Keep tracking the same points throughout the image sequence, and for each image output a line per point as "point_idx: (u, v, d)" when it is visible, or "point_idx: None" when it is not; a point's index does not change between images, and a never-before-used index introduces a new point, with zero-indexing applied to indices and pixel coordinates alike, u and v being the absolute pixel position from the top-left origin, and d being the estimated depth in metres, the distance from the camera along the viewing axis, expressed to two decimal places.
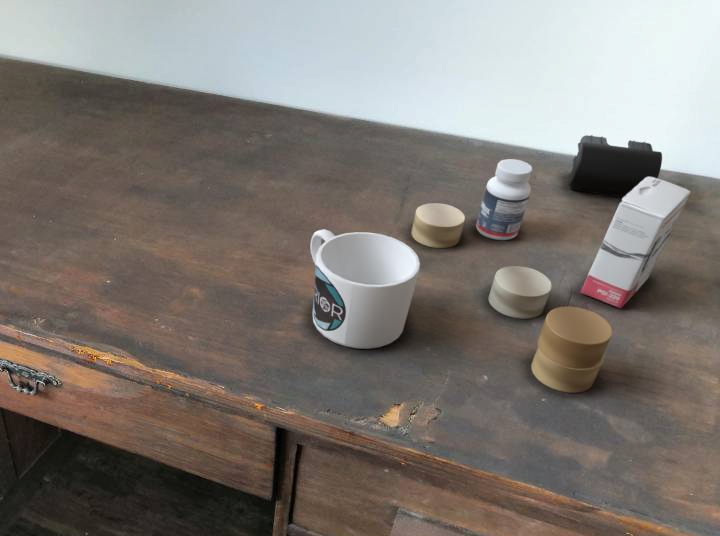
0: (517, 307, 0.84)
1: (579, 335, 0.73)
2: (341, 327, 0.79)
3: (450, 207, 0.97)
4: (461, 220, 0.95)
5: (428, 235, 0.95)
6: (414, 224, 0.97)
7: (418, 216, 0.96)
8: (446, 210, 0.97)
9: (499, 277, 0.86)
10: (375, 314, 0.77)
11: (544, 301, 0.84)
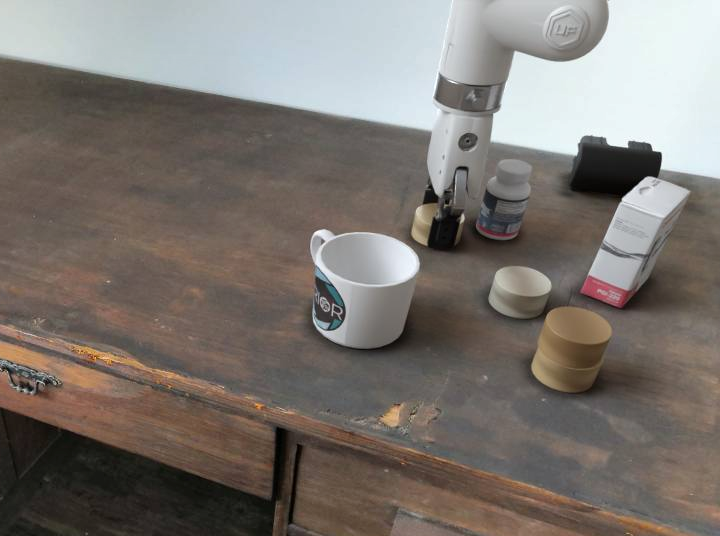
0: (517, 307, 0.84)
1: (579, 335, 0.73)
2: (341, 327, 0.79)
3: None
4: (461, 220, 0.95)
5: (428, 235, 0.95)
6: (414, 224, 0.97)
7: (418, 216, 0.96)
8: None
9: (499, 277, 0.86)
10: (375, 314, 0.77)
11: (544, 301, 0.84)
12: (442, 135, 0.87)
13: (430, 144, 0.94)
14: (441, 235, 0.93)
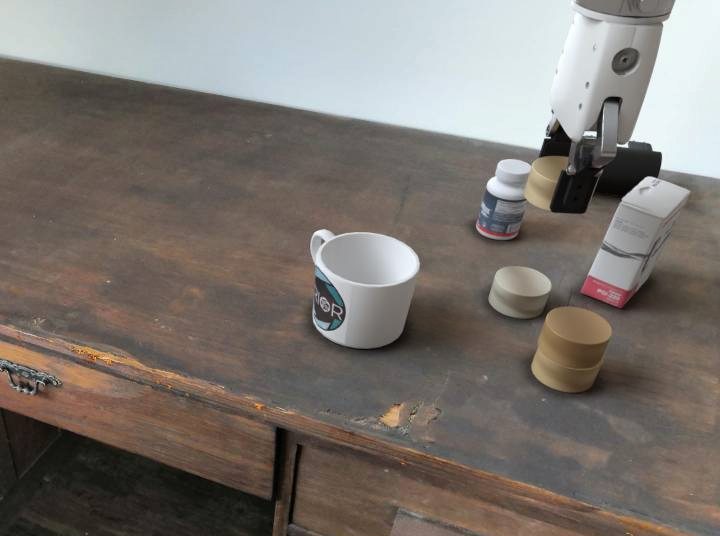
0: (517, 307, 0.84)
1: (579, 335, 0.73)
2: (341, 327, 0.79)
3: None
4: None
5: (550, 196, 0.72)
6: (530, 182, 0.74)
7: (537, 171, 0.72)
8: None
9: (499, 277, 0.86)
10: (375, 314, 0.77)
11: (544, 301, 0.84)
12: (585, 55, 0.64)
13: (557, 74, 0.70)
14: (571, 196, 0.70)
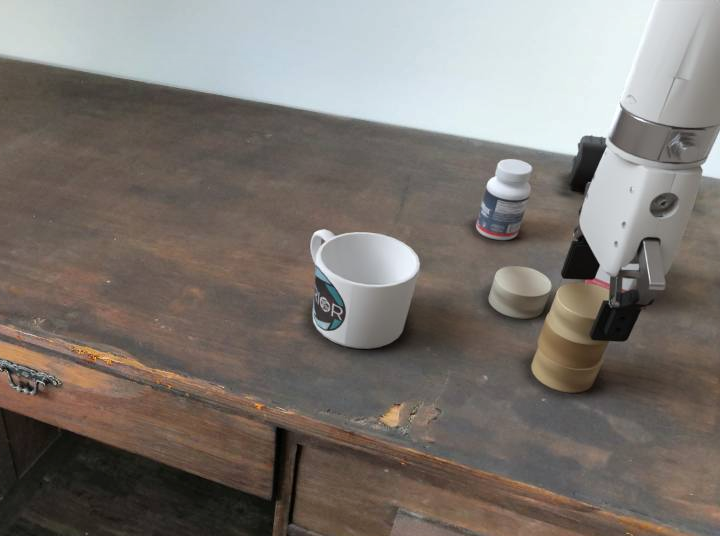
0: (517, 307, 0.84)
1: None
2: (341, 327, 0.79)
3: (601, 289, 0.74)
4: None
5: (575, 329, 0.71)
6: (554, 312, 0.73)
7: (562, 303, 0.72)
8: (597, 293, 0.73)
9: (499, 277, 0.86)
10: (375, 314, 0.77)
11: (544, 301, 0.84)
12: (621, 194, 0.63)
13: (588, 200, 0.69)
14: (614, 326, 0.67)
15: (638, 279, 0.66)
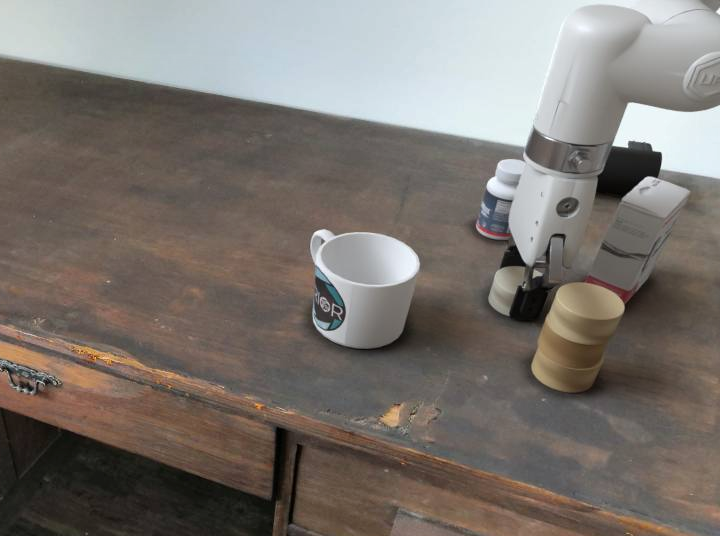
0: None
1: None
2: (341, 327, 0.79)
3: (601, 289, 0.74)
4: (621, 309, 0.71)
5: (575, 329, 0.71)
6: (554, 312, 0.73)
7: (562, 303, 0.72)
8: (597, 293, 0.73)
9: (499, 277, 0.86)
10: (375, 314, 0.77)
11: None
12: (535, 198, 0.76)
13: (514, 203, 0.83)
14: (527, 307, 0.82)
15: None
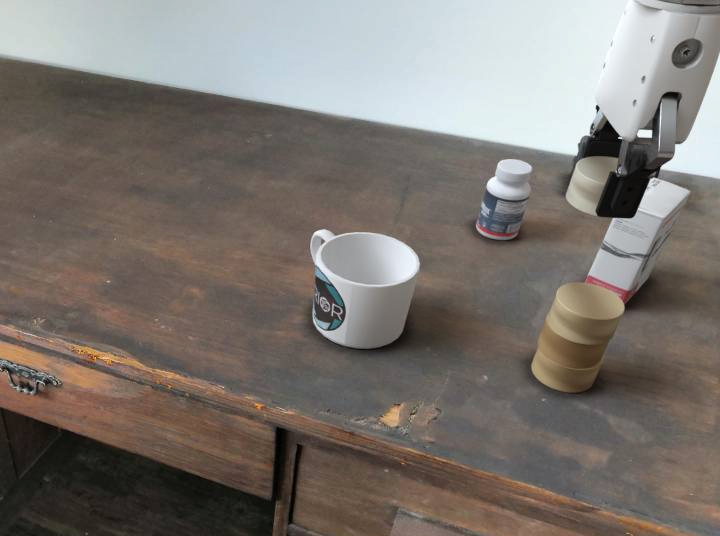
0: None
1: None
2: (341, 327, 0.79)
3: (601, 289, 0.74)
4: (621, 309, 0.71)
5: (575, 329, 0.71)
6: (554, 312, 0.73)
7: (562, 303, 0.72)
8: (597, 293, 0.73)
9: (581, 167, 0.68)
10: (375, 314, 0.77)
11: None
12: (641, 47, 0.59)
13: (605, 68, 0.66)
14: (620, 199, 0.65)
15: (650, 146, 0.63)
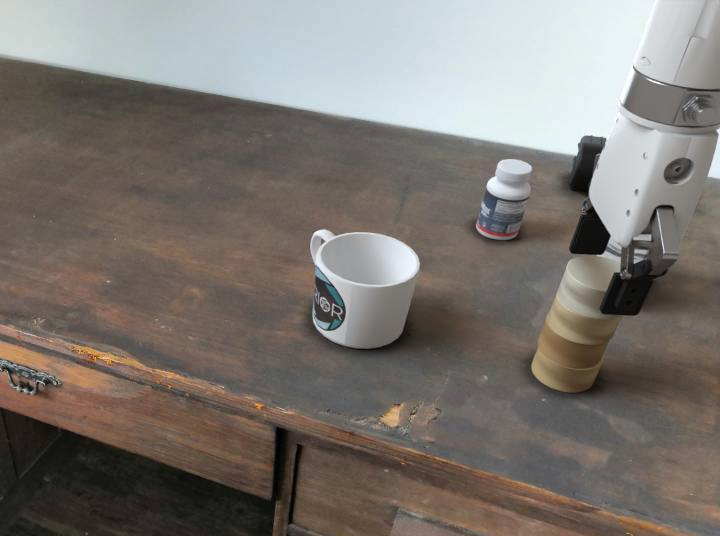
0: (596, 305, 0.69)
1: None
2: (341, 327, 0.79)
3: None
4: None
5: (575, 329, 0.71)
6: (554, 312, 0.73)
7: None
8: None
9: (572, 269, 0.71)
10: (375, 314, 0.77)
11: None
12: (634, 160, 0.61)
13: (599, 170, 0.67)
14: (625, 299, 0.65)
15: (650, 250, 0.64)
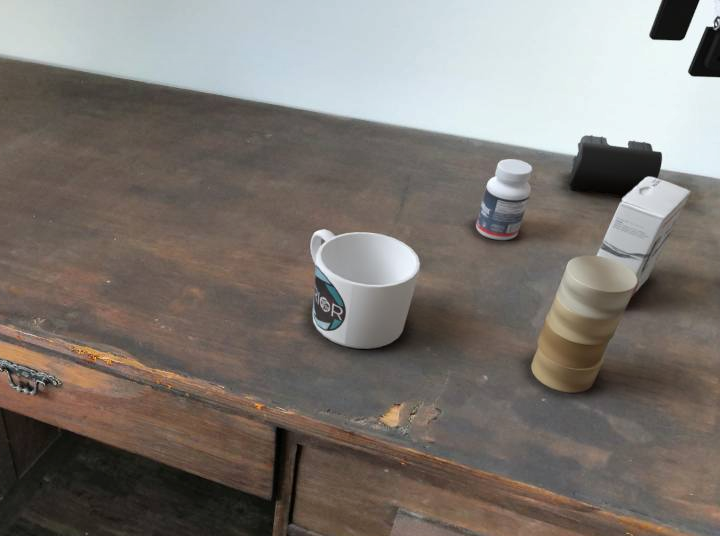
0: (596, 305, 0.69)
1: None
2: (341, 327, 0.79)
3: None
4: None
5: (575, 329, 0.71)
6: (554, 312, 0.73)
7: None
8: None
9: (572, 269, 0.71)
10: (375, 314, 0.77)
11: (628, 298, 0.69)
12: None
13: None
14: (716, 54, 0.66)
15: None
